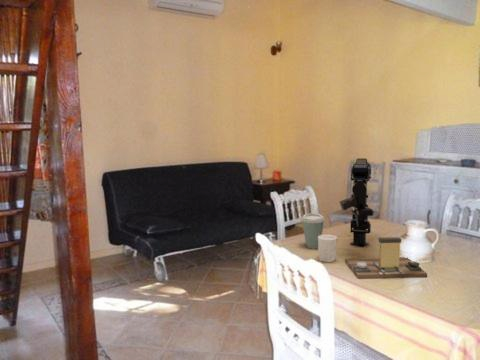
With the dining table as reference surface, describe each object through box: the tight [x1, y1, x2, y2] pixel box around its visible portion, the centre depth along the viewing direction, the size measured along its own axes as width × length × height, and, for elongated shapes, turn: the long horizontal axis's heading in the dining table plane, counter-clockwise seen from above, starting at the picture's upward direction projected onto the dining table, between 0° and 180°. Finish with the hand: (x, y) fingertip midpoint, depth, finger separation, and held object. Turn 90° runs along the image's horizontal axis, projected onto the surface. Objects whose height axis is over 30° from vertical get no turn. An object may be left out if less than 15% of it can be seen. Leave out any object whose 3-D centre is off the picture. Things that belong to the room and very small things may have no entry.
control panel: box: [344, 256, 428, 280], centre depth 158 cm, size 18×26×2 cm
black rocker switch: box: [408, 261, 420, 267], centre depth 154 cm, size 4×3×1 cm
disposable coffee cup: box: [301, 212, 325, 249], centre depth 188 cm, size 11×11×15 cm
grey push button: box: [357, 262, 367, 269], centre depth 154 cm, size 4×4×1 cm
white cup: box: [317, 234, 338, 263], centre depth 170 cm, size 8×8×10 cm
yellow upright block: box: [378, 236, 402, 272], centre depth 152 cm, size 4×8×13 cm, turn 90°
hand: (359, 227), depth 176 cm, fingers closed
